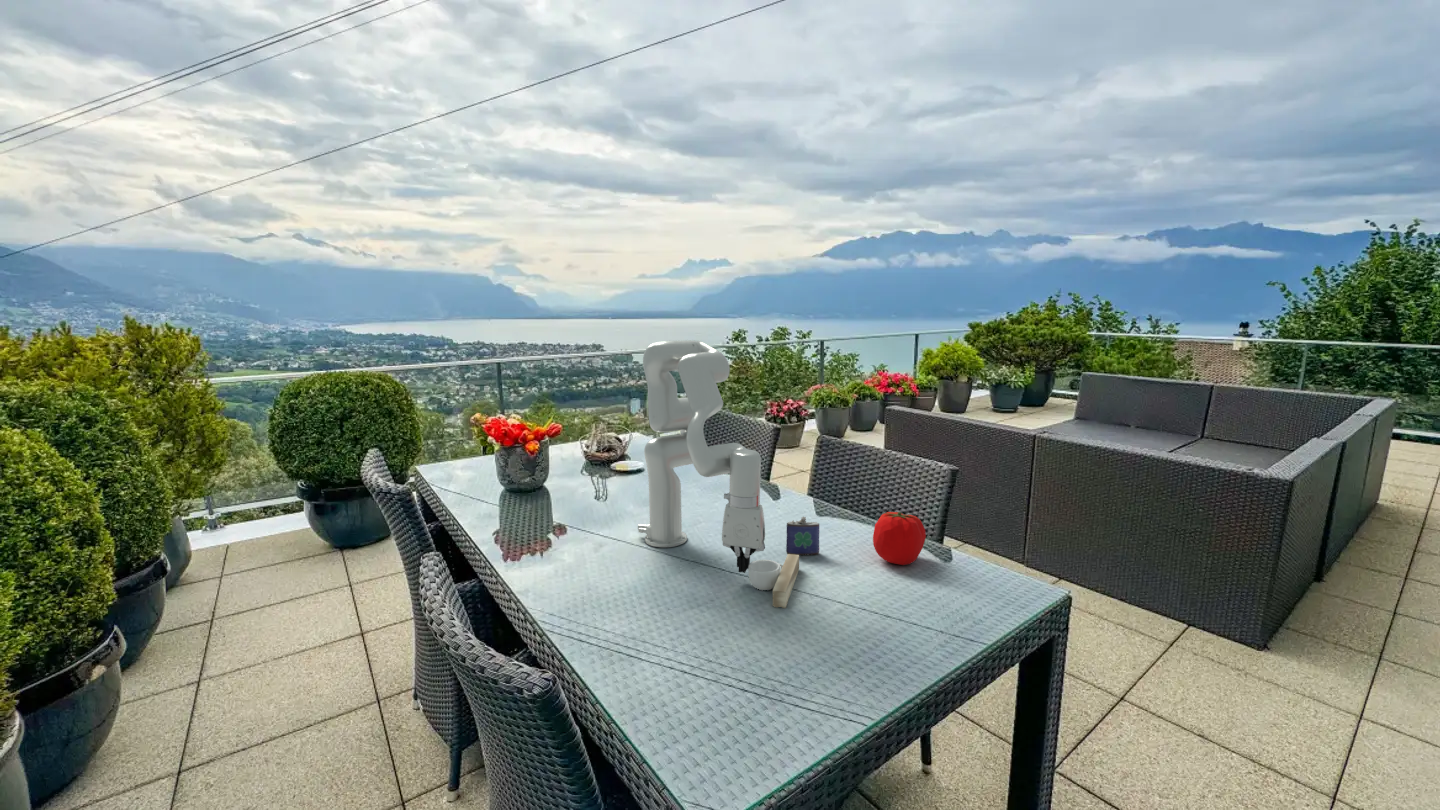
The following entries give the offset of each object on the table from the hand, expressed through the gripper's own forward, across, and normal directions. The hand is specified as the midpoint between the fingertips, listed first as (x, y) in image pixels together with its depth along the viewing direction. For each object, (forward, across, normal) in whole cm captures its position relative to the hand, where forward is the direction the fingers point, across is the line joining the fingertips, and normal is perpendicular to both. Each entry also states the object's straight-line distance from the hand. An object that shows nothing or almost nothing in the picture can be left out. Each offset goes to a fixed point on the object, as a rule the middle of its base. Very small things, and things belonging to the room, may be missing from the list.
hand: (743, 570), depth 146 cm
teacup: (+3, +6, 0) cm, 7 cm away
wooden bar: (+3, +11, 0) cm, 11 cm away
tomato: (+3, +37, +25) cm, 45 cm away
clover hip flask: (+3, +12, +22) cm, 25 cm away
